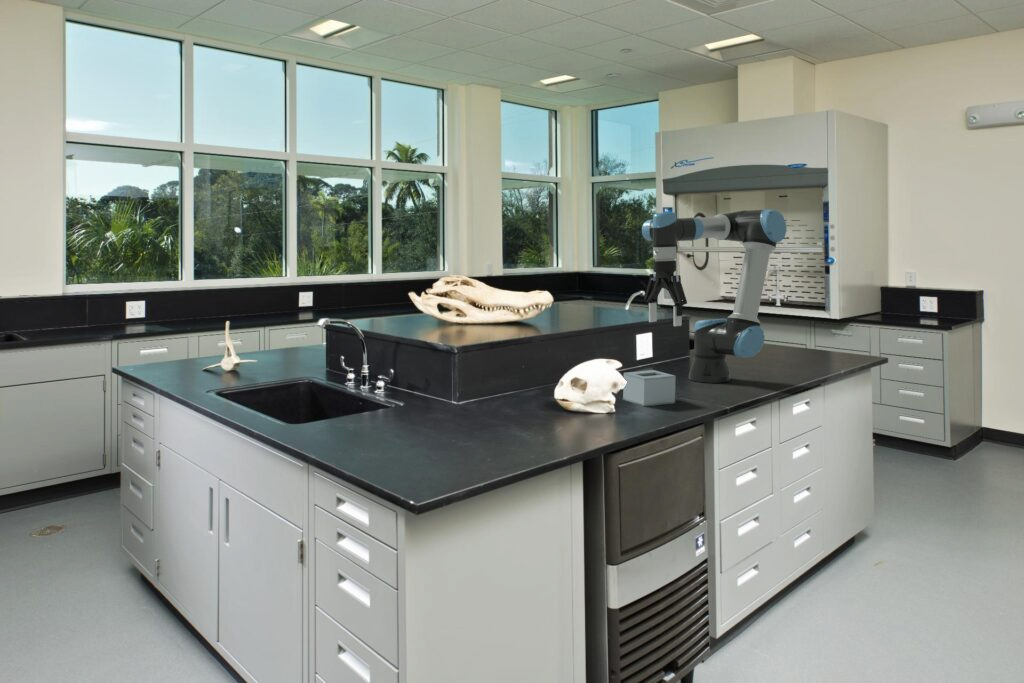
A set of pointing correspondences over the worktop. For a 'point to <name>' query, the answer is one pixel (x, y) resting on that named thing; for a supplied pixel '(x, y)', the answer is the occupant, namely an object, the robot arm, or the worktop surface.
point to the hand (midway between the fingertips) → (664, 323)
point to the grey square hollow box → (649, 388)
